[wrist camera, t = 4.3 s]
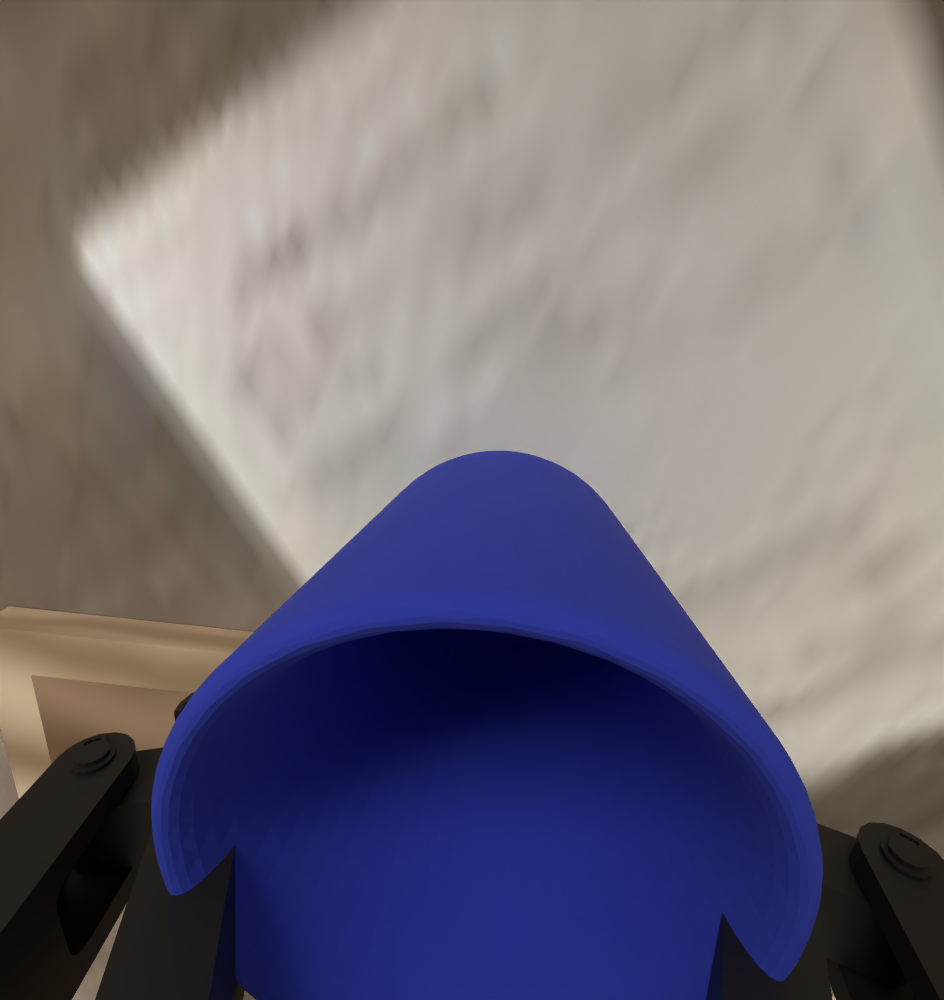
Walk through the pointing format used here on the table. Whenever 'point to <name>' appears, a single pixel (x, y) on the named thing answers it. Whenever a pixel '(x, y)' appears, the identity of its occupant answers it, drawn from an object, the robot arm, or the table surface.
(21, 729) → the trivet
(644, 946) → the mug
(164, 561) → the table surface
